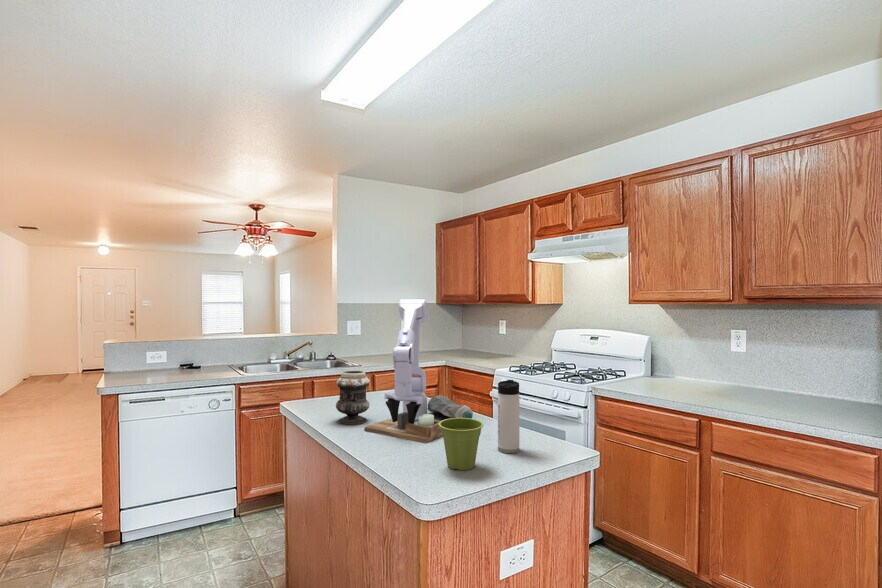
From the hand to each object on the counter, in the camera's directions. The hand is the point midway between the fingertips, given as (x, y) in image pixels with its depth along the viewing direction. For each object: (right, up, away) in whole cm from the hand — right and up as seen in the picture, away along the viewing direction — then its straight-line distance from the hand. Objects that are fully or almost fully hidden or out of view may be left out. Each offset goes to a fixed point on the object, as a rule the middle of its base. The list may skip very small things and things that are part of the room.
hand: (403, 423), depth 155 cm
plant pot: (+18, -3, -32) cm, 37 cm away
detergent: (+17, -4, +17) cm, 24 cm away
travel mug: (+32, -3, -19) cm, 37 cm away
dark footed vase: (-19, -3, +14) cm, 24 cm away
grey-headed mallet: (+5, -1, -3) cm, 6 cm away
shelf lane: (+1, -3, -1) cm, 3 cm away
